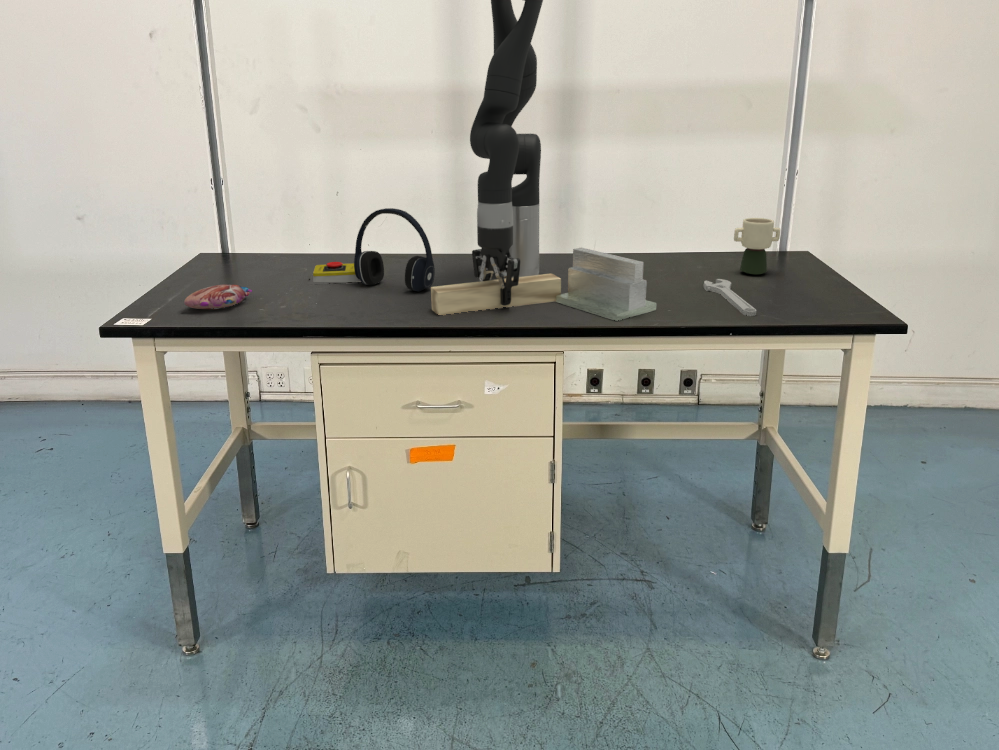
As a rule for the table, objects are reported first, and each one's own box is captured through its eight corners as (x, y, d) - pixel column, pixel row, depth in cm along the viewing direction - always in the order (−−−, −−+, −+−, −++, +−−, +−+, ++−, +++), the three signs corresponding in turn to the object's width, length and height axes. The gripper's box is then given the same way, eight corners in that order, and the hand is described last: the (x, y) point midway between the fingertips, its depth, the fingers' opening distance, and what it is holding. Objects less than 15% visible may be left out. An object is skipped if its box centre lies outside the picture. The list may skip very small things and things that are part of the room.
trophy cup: (770, 269, 199) (777, 217, 194) (779, 277, 192) (786, 223, 187) (726, 270, 199) (731, 217, 194) (734, 277, 192) (739, 223, 187)
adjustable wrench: (758, 318, 164) (759, 310, 163) (726, 319, 164) (727, 310, 163) (727, 285, 187) (727, 278, 186) (699, 285, 187) (700, 278, 186)
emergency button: (309, 260, 197) (370, 257, 199) (310, 277, 199) (371, 274, 201) (305, 269, 189) (369, 266, 191) (307, 287, 190) (370, 284, 192)
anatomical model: (233, 320, 169) (262, 288, 181) (223, 296, 166) (254, 265, 178) (188, 324, 171) (220, 291, 184) (178, 300, 168) (211, 269, 181)
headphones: (439, 288, 186) (436, 209, 179) (423, 296, 180) (419, 214, 174) (368, 279, 195) (363, 203, 188) (351, 286, 189) (345, 208, 182)
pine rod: (431, 309, 170) (430, 287, 169) (551, 295, 180) (551, 273, 178) (439, 316, 166) (437, 292, 164) (560, 300, 176) (561, 278, 174)
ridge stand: (555, 302, 174) (556, 252, 170) (595, 292, 181) (596, 244, 177) (616, 321, 161) (618, 267, 157) (656, 309, 168) (659, 258, 164)
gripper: (531, 226, 163) (531, 305, 170) (488, 216, 174) (489, 291, 180) (502, 230, 159) (503, 312, 165) (460, 220, 170) (462, 297, 176)
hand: (496, 301), depth 173 cm, fingers closed on pine rod, 6 cm apart
